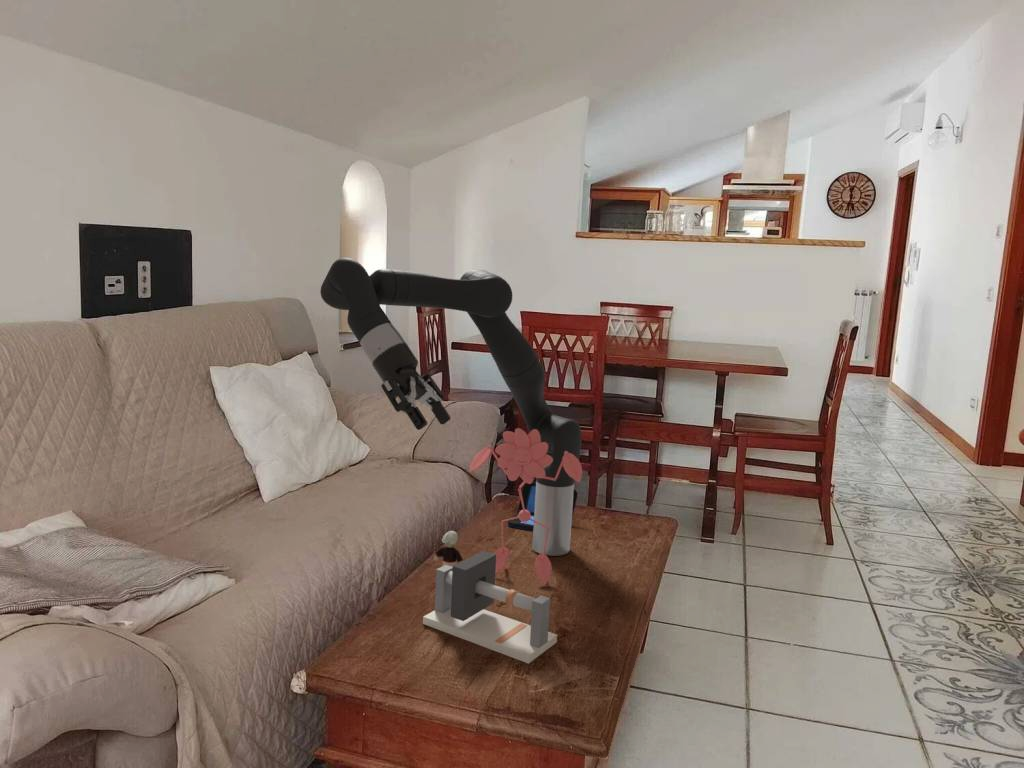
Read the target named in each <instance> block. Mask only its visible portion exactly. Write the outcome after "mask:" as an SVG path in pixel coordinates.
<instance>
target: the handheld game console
mask: <svg viewBox="0 0 1024 768" xmlns="http://www.w3.org/2000/svg"><path fill="white" fill-rule="evenodd" d="M521 493H522V498H523V503H524V508H525V510H528V511H529V512H530V515H531V517H530V518H531V519H533V520H534V512H535V495H536V482H532V483H531V484H528V483H525V484H524V486H523V487H522V489H521ZM577 499H578V491H577V490H576V489H574V492H573V508H572V520H573V519H574V513H575V508H576V503H577ZM521 510H523V507H522V503H521V499H520V498H519V503H518V509H517V511H516V513H515V514H514V515H513V516H512V517H511V518H514V517H518V516H519V512H520V511H521ZM572 524H573V522H572V523H571V526H573V525H572ZM507 525H508V527H510V528H517V529H522V530H527V531H532V532H533V528H534V522H533V521H531V520H528V521H527V522H522V521H521V520H520V519H519V518H517V519H512V520H508V521H507Z"/></svg>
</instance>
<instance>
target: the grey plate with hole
mask: <svg viewBox="0 0 1024 768" xmlns="http://www.w3.org/2000/svg"><path fill="white" fill-rule="evenodd" d="M495 569H496V554H494V553H492V552H489V551H485V550H483V551H481V552H478V553H477V554H474V555H473V556H471V557H468V558H466V559H465V560H464V559H463V561H462V562H460V563H458V562H457V564H456V565H454V566H453V571H452V595H451V617H453V618H456V619H459V620H461V621H465V620H466V619H468V618H470V617H471V616H473V615H475V614H476V613H478V612H480V611H481V610H483V609H484V610H486V609H487V608H489V607H490V606H491V605H493V604H494V603H495V599H493V598H490V597H487V596H484V595H481V594H478V593H475V581H477V580H480V581H484V582H487V583H490V584H493V585H496V582H495V581H496V573H495Z"/></svg>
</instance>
